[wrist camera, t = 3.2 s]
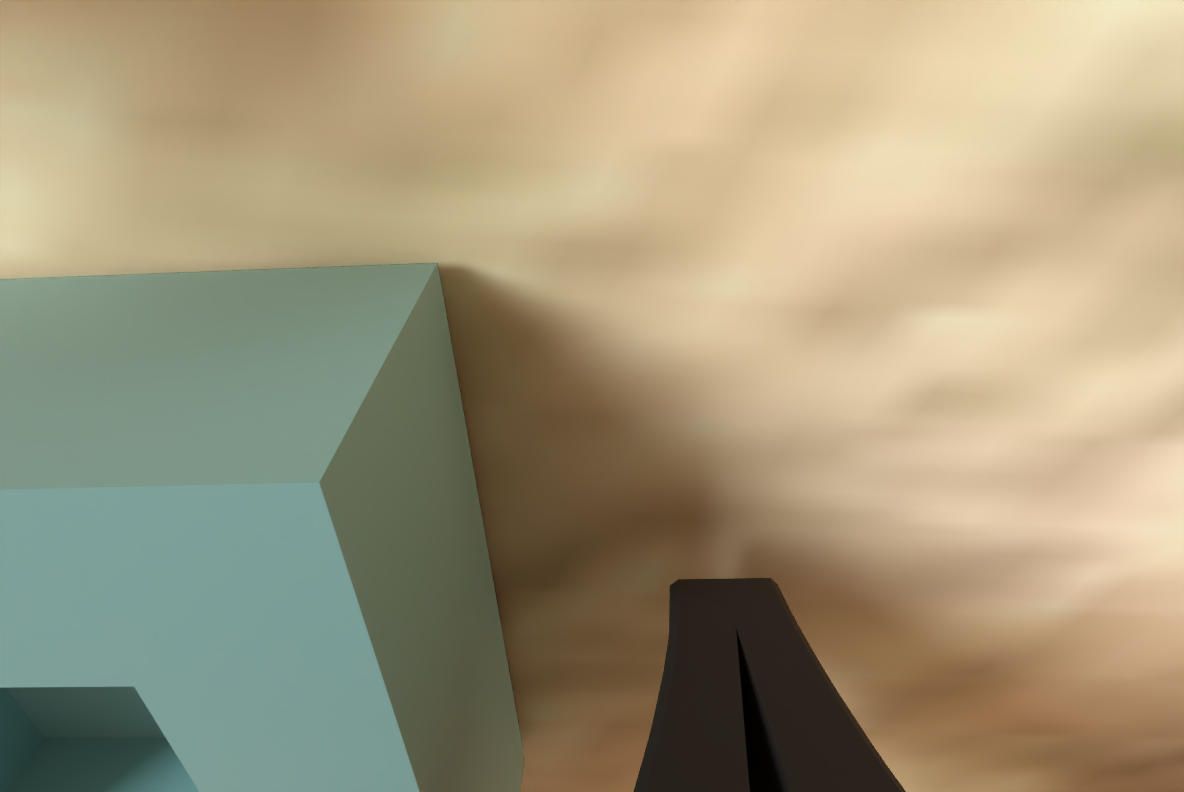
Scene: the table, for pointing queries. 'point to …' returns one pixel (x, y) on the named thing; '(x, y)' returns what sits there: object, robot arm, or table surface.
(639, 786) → the robot arm
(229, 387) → the sliding block
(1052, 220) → the table surface
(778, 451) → the table surface
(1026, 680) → the table surface
